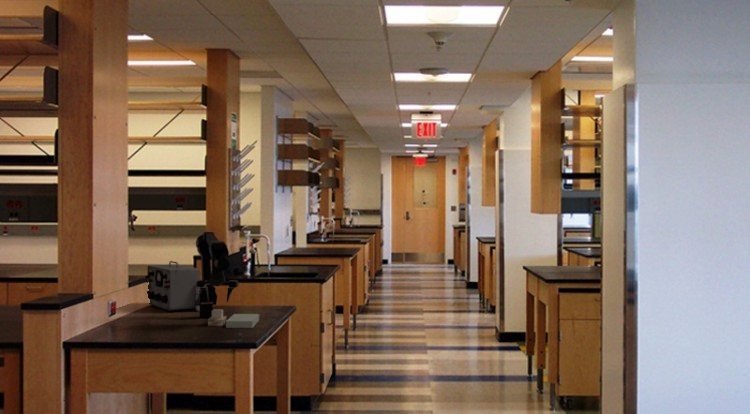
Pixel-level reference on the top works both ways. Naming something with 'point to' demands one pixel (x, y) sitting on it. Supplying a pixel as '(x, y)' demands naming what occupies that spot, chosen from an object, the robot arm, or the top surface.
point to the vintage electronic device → (172, 286)
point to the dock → (242, 321)
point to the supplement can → (196, 299)
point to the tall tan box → (216, 321)
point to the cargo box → (217, 313)
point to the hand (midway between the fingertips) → (217, 302)
